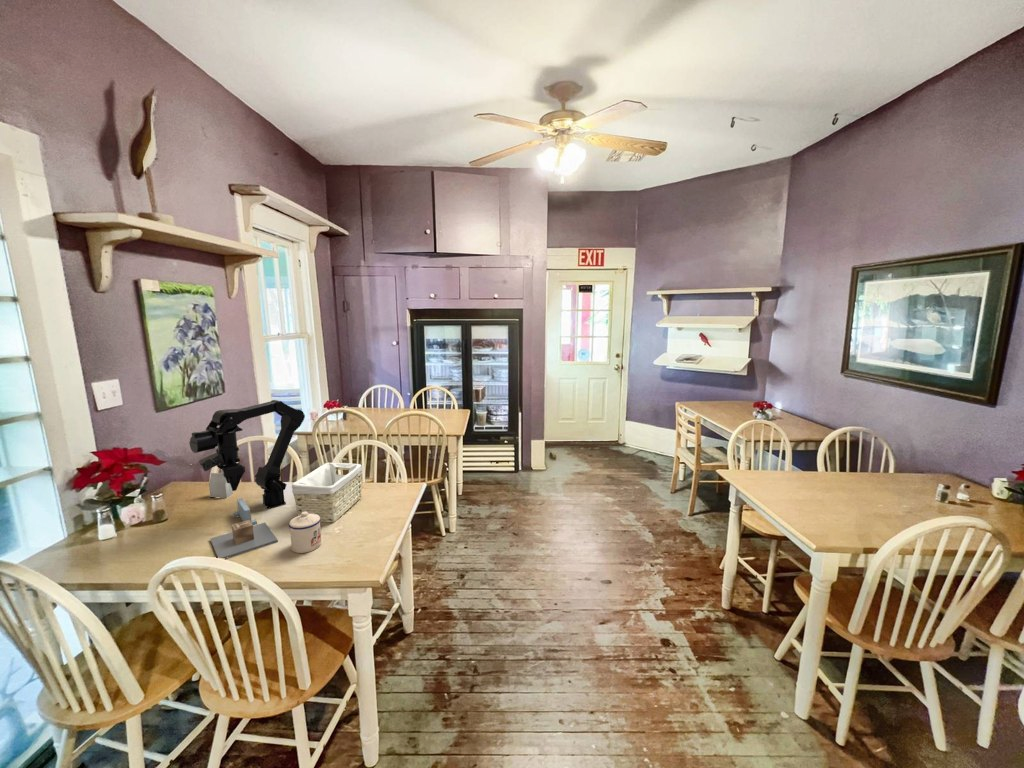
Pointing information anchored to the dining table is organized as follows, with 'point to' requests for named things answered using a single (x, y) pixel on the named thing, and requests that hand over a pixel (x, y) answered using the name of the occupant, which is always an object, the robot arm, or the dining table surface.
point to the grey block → (219, 486)
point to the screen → (244, 511)
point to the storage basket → (328, 491)
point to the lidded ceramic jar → (305, 532)
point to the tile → (228, 547)
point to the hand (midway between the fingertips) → (231, 486)
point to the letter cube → (242, 532)
